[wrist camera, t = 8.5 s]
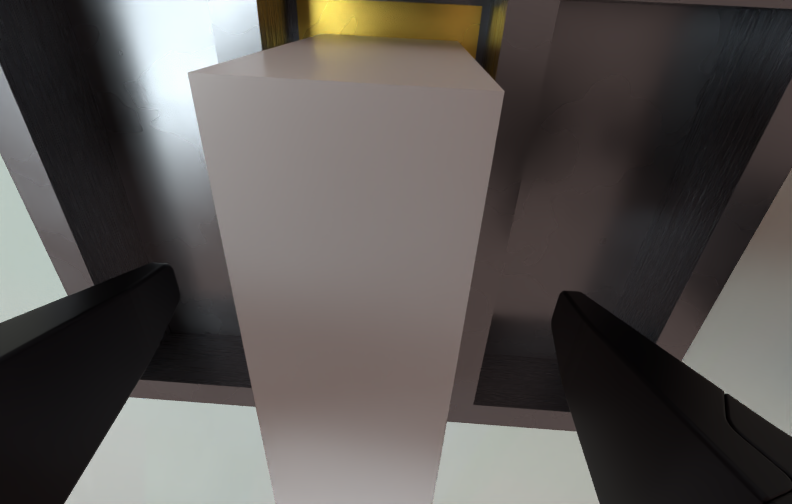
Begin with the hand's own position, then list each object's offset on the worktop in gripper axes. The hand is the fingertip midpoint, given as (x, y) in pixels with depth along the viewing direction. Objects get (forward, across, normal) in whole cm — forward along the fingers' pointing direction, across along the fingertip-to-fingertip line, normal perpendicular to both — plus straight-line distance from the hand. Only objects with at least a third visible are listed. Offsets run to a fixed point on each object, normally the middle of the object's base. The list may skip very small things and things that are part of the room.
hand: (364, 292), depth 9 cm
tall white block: (+4, 0, 0) cm, 4 cm away
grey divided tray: (+5, 0, 0) cm, 5 cm away
